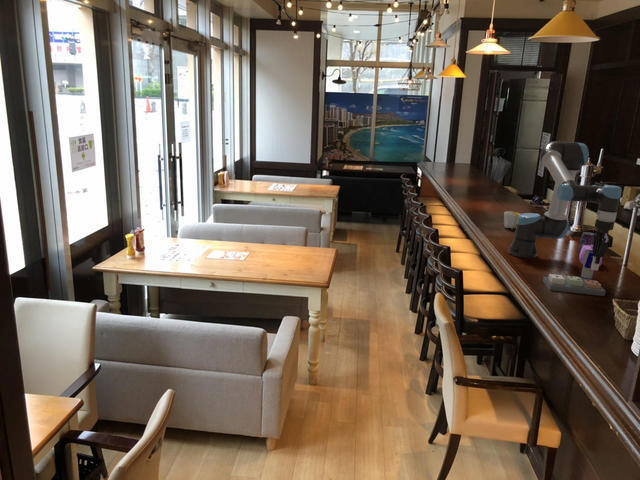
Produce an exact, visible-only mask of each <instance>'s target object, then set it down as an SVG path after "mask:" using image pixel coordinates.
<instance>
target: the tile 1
mask: <svg viewBox="0 0 640 480" xmlns="http://www.w3.org/2000/svg"><path fill="white" fill-rule="evenodd" d="M547 277H548V280H549V282H550V283H553V284H562V285H564V282H565V279H566V278H564V277H563V275H562V274H553V273H549V274H548V276H547Z"/></svg>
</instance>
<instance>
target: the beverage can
mask: <svg viewBox="0 0 640 480" xmlns="http://www.w3.org/2000/svg"><path fill="white" fill-rule="evenodd" d="M593 241H594V232H590V231H589V232H588V231H584V232H582V234H581V236H580V241H579V245H578V250H577V251H578V252H579V253H580V252H581V249H582V247H583V245H587V246H591V245H593Z"/></svg>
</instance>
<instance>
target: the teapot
mask: <svg viewBox="0 0 640 480" xmlns="http://www.w3.org/2000/svg"><path fill="white" fill-rule="evenodd" d="M592 249H593V245H591V246H587V245H583V247H582V249H581V252H579V256H578V259H579V262H580V264H581V265H583V264H584V259H585V255H586V250H592ZM602 262H603V257H601V259H600V264H599V267H601V265H602Z"/></svg>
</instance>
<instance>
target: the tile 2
mask: <svg viewBox="0 0 640 480" xmlns="http://www.w3.org/2000/svg"><path fill="white" fill-rule="evenodd" d="M565 279H566V283H567V284H568V285H571V286H580V287H582V285H583V281H584V280H582V278H581V276H573V275H567V276H566V278H565Z"/></svg>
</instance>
